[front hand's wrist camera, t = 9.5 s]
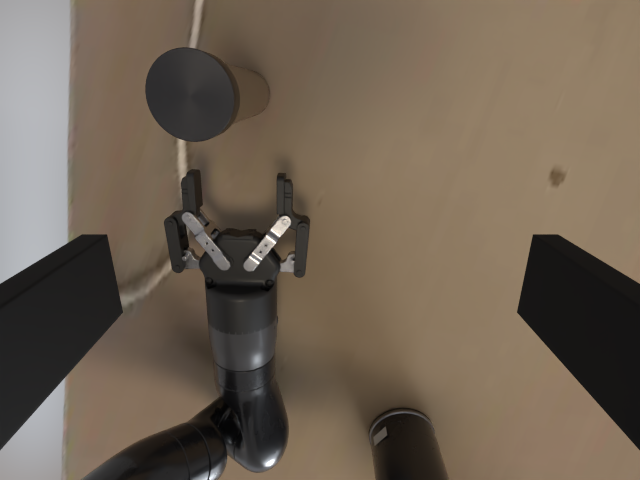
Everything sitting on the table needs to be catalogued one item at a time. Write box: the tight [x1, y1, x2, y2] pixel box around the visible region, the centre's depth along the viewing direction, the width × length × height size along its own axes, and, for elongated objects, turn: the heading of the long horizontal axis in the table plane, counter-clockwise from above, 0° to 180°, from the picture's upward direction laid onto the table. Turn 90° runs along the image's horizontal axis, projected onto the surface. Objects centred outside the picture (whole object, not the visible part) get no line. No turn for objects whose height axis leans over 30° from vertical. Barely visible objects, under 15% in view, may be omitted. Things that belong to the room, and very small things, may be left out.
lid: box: [146, 47, 240, 142], centre depth 24 cm, size 5×5×2 cm
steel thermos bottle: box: [225, 63, 270, 124], centre depth 32 cm, size 4×4×19 cm
